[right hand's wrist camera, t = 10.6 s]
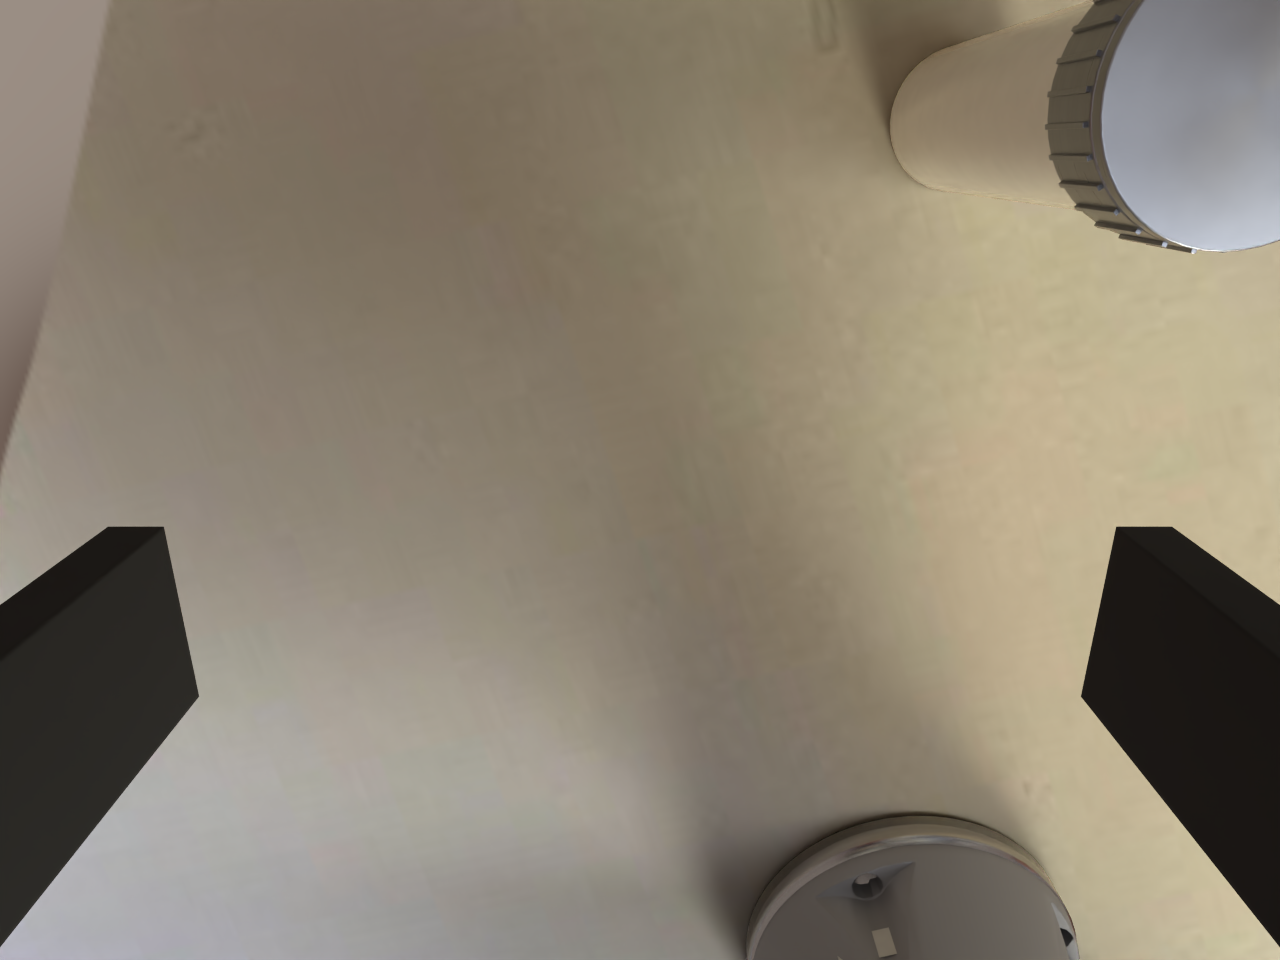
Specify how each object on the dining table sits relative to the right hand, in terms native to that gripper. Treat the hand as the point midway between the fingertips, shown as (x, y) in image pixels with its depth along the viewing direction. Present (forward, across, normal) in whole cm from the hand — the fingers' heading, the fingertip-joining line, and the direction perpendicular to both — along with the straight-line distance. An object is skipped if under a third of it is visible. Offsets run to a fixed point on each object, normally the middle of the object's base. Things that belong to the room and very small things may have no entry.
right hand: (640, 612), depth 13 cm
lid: (+7, +11, +7) cm, 14 cm away
